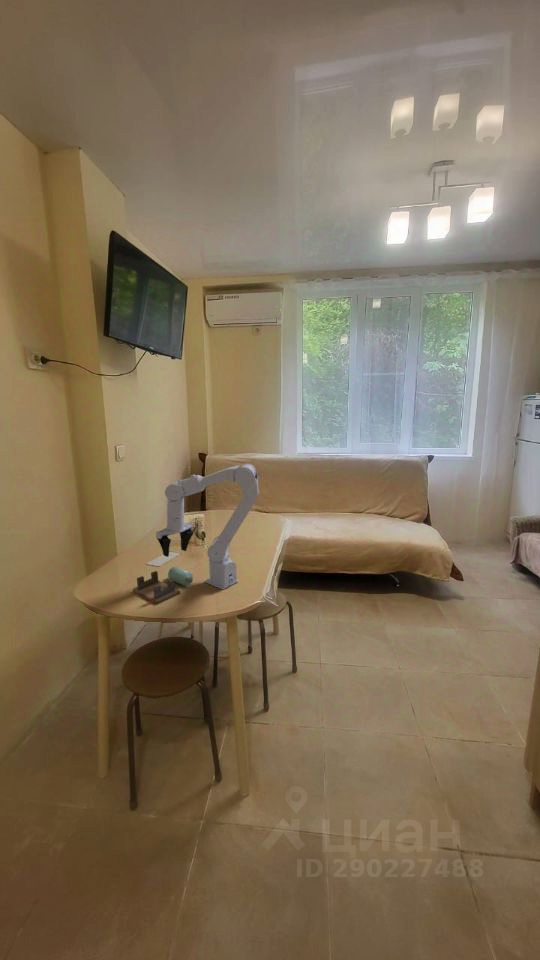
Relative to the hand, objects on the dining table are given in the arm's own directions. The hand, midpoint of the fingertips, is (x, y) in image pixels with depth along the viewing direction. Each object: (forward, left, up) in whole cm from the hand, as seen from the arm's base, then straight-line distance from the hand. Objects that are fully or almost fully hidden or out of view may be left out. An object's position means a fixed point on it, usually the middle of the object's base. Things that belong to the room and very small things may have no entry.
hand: (175, 552), depth 129 cm
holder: (-2, +10, -11) cm, 14 cm away
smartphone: (+21, -9, -11) cm, 26 cm away
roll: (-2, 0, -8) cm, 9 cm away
